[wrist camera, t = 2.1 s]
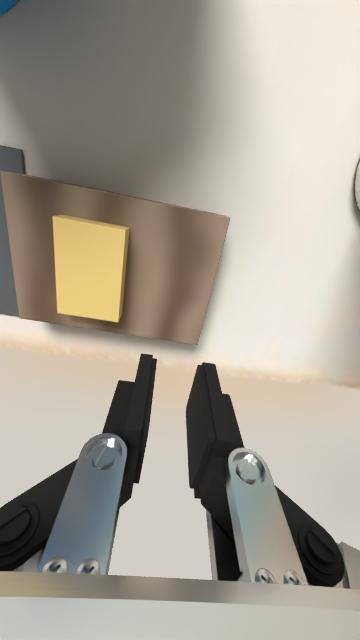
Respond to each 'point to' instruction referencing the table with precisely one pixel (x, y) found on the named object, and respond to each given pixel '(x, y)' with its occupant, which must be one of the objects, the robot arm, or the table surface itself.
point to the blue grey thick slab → (6, 5)
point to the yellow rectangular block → (90, 267)
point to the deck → (142, 256)
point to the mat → (3, 289)
